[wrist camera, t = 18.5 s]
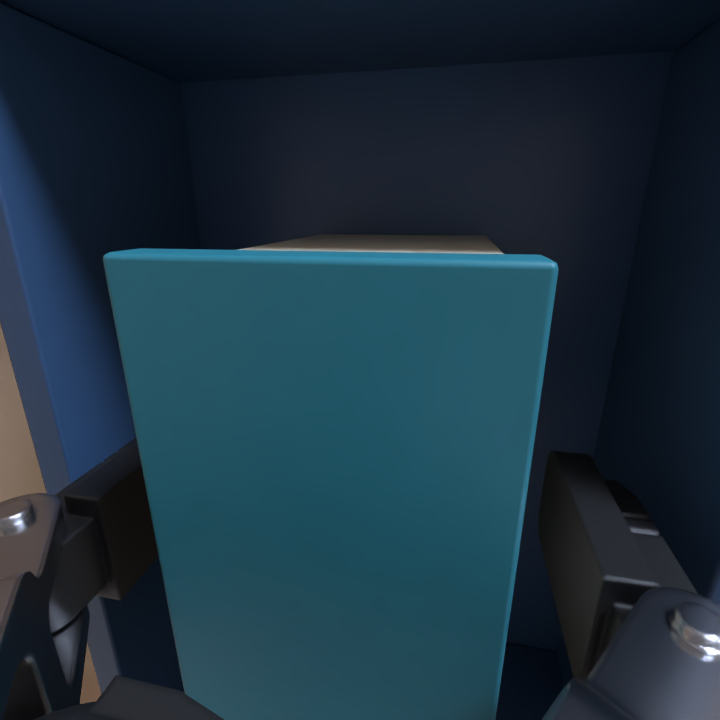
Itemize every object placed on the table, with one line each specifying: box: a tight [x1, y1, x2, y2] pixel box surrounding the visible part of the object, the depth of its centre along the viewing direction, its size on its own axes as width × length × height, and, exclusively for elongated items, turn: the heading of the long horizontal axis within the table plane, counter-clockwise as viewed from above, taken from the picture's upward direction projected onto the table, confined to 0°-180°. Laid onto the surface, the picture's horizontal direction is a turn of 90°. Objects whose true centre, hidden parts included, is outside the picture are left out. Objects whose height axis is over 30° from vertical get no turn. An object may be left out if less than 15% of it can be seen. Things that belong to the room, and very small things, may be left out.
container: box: [103, 234, 559, 720], centre depth 10 cm, size 5×10×8 cm, turn 0°
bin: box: [0, 0, 720, 720], centre depth 11 cm, size 20×14×7 cm
